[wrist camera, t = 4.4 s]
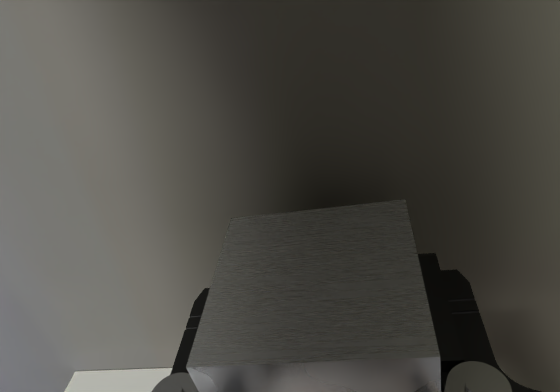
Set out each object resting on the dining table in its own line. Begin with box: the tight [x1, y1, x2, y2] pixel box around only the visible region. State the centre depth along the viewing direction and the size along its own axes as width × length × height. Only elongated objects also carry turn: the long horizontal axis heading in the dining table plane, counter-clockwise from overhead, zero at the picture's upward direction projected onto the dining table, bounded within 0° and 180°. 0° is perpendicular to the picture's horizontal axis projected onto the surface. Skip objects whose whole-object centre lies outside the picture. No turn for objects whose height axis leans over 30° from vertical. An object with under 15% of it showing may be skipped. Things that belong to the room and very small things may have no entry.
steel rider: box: [186, 200, 441, 392], centre depth 12 cm, size 5×5×5 cm
